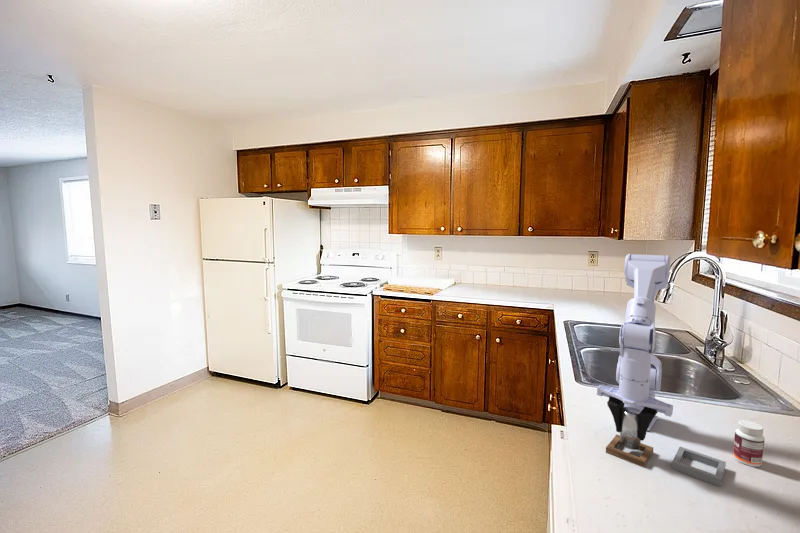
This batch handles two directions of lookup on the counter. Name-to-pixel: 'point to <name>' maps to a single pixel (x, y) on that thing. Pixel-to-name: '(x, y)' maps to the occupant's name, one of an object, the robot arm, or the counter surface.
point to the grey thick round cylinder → (630, 428)
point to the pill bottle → (749, 443)
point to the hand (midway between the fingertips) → (630, 434)
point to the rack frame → (699, 473)
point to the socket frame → (626, 456)
